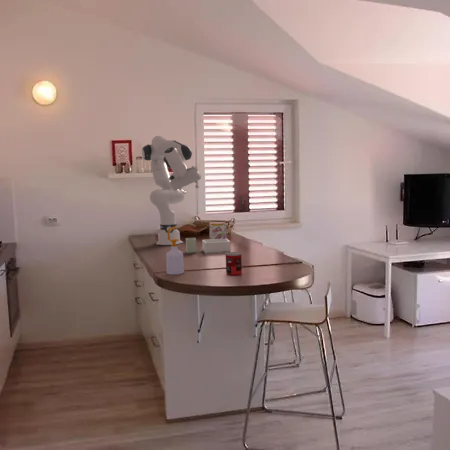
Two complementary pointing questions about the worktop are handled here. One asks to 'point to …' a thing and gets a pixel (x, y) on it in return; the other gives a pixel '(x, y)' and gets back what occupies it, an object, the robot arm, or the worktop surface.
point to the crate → (216, 246)
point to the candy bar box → (217, 230)
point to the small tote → (191, 245)
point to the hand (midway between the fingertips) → (191, 190)
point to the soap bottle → (174, 257)
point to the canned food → (233, 264)
